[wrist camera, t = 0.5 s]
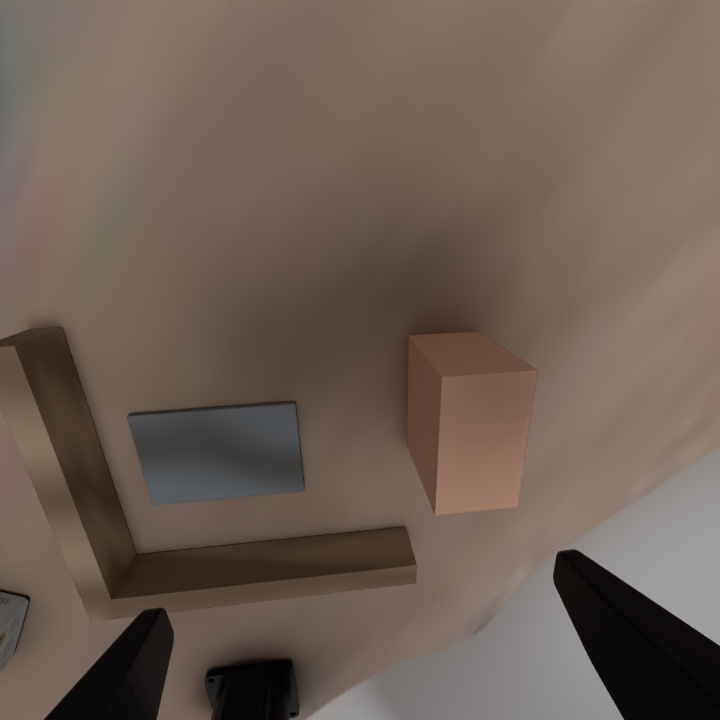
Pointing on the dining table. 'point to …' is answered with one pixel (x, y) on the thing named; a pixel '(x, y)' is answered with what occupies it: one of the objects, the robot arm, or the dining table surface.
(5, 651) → the coffee box
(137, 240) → the dining table surface
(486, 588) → the dining table surface
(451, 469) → the block
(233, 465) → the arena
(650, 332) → the dining table surface
